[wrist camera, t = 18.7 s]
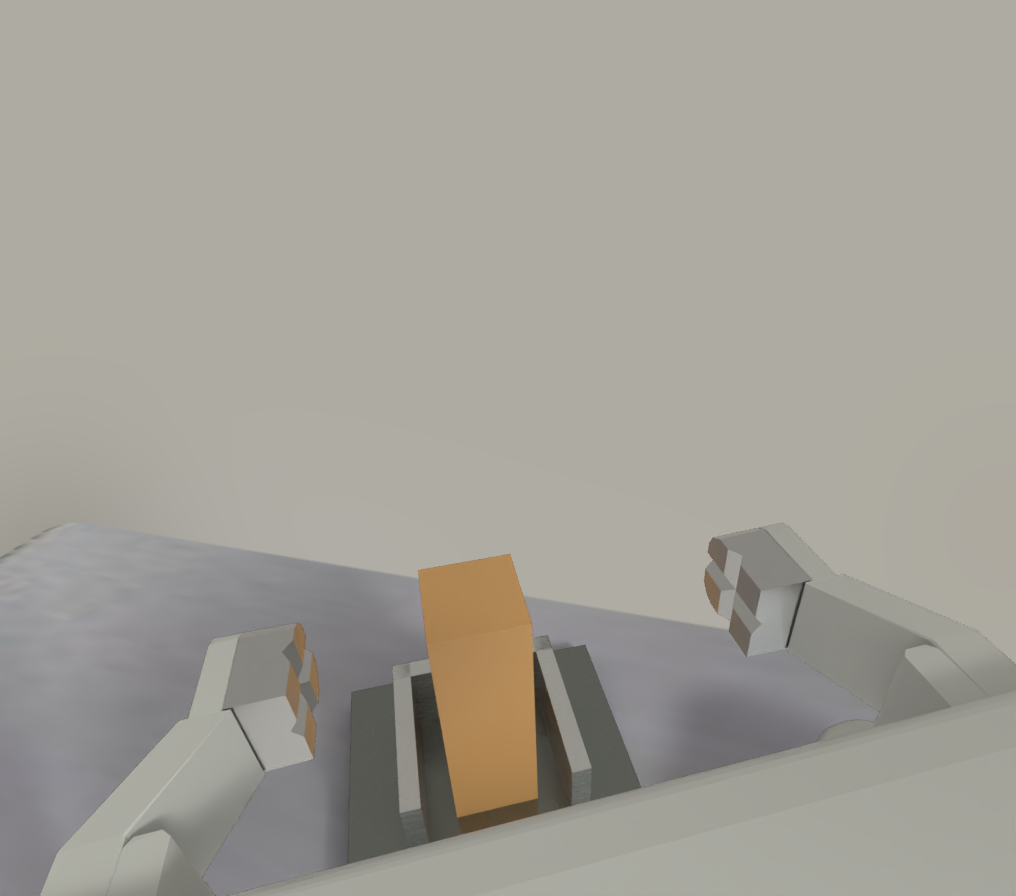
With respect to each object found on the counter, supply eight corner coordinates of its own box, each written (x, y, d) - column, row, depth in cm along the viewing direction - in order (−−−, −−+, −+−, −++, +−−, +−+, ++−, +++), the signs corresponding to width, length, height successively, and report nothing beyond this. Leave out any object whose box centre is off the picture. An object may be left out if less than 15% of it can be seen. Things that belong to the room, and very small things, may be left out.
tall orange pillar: (520, 724, 36) (510, 554, 29) (537, 798, 33) (531, 624, 25) (447, 740, 36) (418, 570, 28) (457, 817, 32) (426, 644, 25)
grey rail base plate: (669, 879, 30) (682, 820, 27) (352, 965, 28) (325, 910, 25) (584, 659, 42) (586, 598, 39) (355, 706, 40) (338, 646, 37)
